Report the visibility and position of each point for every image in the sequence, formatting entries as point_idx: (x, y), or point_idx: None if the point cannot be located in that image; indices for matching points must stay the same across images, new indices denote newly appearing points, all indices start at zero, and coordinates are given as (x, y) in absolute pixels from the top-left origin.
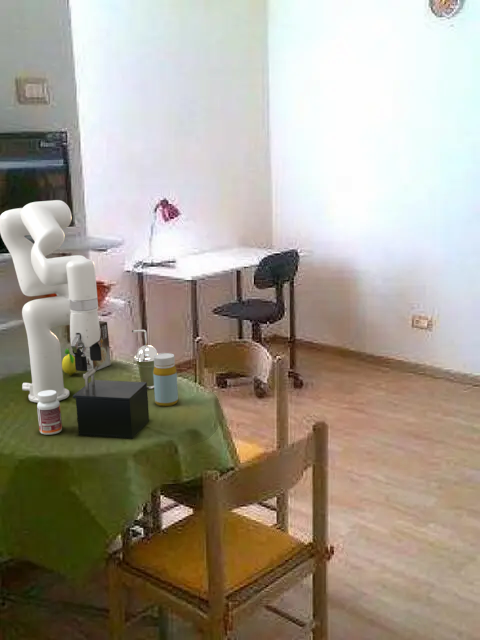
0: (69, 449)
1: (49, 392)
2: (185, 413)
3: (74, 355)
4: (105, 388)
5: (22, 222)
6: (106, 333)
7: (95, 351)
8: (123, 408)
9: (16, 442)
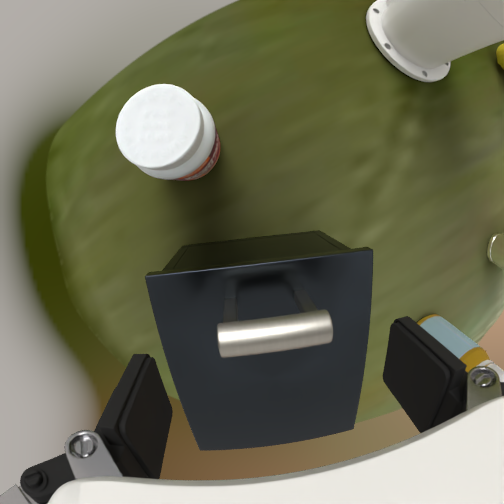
0: (104, 270)
1: (166, 129)
2: (368, 394)
3: (70, 445)
4: (270, 361)
5: None
6: None
7: (417, 395)
8: None
9: (102, 113)
